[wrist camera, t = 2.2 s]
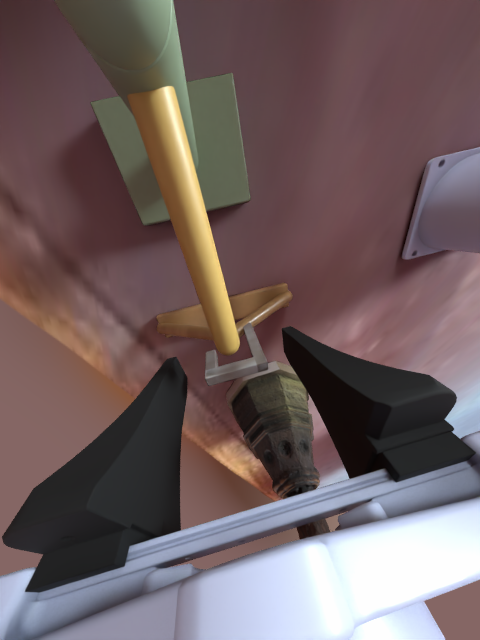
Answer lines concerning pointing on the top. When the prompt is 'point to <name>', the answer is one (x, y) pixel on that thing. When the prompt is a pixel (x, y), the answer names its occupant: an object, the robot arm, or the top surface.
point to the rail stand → (168, 135)
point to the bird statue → (279, 431)
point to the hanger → (245, 306)
